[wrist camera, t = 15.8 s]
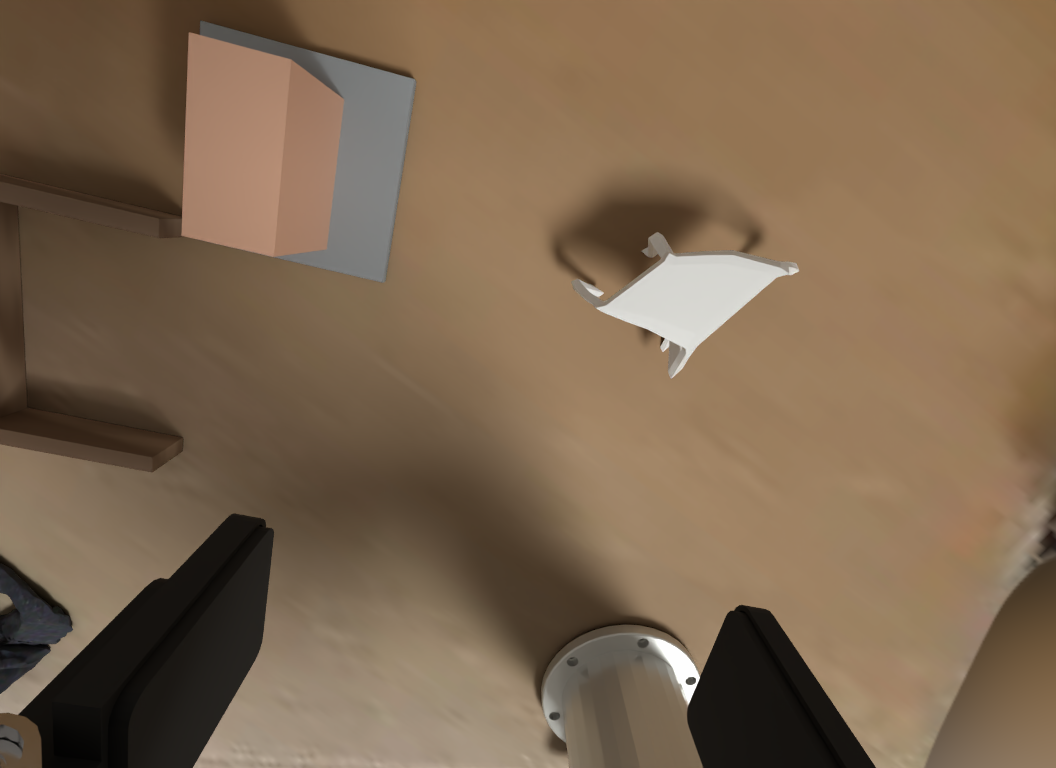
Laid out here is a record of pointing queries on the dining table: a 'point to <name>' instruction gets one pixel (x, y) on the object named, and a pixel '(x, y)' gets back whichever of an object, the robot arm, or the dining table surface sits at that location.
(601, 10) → the dining table surface
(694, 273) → the white legged piece
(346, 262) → the grey mat
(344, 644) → the dining table surface
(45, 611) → the dark slate chunk
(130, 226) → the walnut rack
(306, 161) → the terracotta block
